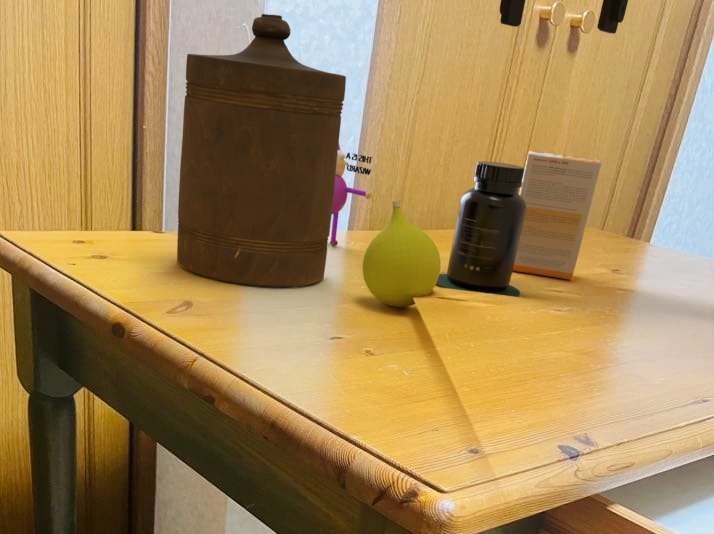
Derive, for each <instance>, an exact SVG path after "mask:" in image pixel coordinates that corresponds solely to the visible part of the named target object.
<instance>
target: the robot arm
mask: <svg viewBox="0 0 714 534" xmlns="http://www.w3.org/2000/svg"><path fill="white" fill-rule="evenodd" d="M628 3H629V0H602V4H601V8H600V13H599V18H598V21H597V29H598V30H599V31H600V32H602V33H607V34H614V35H615V34H616V33H617V31H618V26H619V23H620V24H621V23H623V21H624V19H625V15H626V11H627V7H628ZM499 4H500V5H499V14H500V22H499V23H500V24H501V25H505V26H509V27H513V28H515V27H516V28H518V27H519V26H521V23H522V19H523V14H524V9H525V4H526V0H500V3H499Z"/></svg>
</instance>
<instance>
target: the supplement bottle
mask: <svg viewBox="0 0 714 534" xmlns="http://www.w3.org/2000/svg"><path fill="white" fill-rule="evenodd" d="M524 169H525V167H523V166H520V165H518V164H517V165H516V164H511V163H506V162H498V161H487V160H485V161H484V160H481V161H477V163H476V166H475V172H474V175H473V179H472V181H473V182H474V186H473V187H472V188H469V189H468V190H466V191H465V192H464V193H463V194H462V196H461V197H460V199H459V205H458V209H457V213H456V219H455V225H454V231H453V236H452V238H453V239H452V242H451V247H450V253H449V259H448V263H447V270H446V274H447V279H448V281H449V282H450V283H452V284H454V285H456V286H459V287H462V288H466V289H471V290H477V291H485V292H499V291H503V290H505V289H507V287H508V286H509V285H511V279H512V275H513V272H514V271H513V267H514V262H515V257H516V253H517V248H518V244H519V239H520V235H521V230H522V226H523V221H524V217H525V211H526V204H525V201H524V199H523V198H522V197H521V196H520V195H519V189H520V188H521V187H522V183H523V182H522V179H523V174H524Z"/></svg>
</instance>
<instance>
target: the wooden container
mask: <svg viewBox="0 0 714 534" xmlns="http://www.w3.org/2000/svg"><path fill="white" fill-rule="evenodd" d="M251 31H252V35H253V36H254V38H253V40H252V41H251V42H250V43H249V44H248V45H247V46H246V47H245V48H244V49H243V50H242V51H240V52H237V53H234V54H218V55H217V54H196V53H187V55H186V65H185V80H186V82H185V89H186V90H185V93H186V95H184V103H183V104H184V105H183V121H182V137H181V138H182V139H181V152H180V153H181V154H180V166H179V182H178V183H179V186H178V204H177V205H178V206H177V222H178V223H177V226H178V227H177V240H176V243H177V245H176V261H177V263H178V264H179V265H180V266H181V267H182V268H184V269H185V268H186V270H187V271H189V272H191V273H194V274H197V275H200V276H203V277H205V278H210V279H215V280H219V281H223V282H229V283H235V284H240V285H241V284H242V285H250V286H258V287H273V288H274V287H278V288H281V287H284V288H285V287H303V286H310V285H312V284H316V283H318V282H320V281H322V280H323V279H324V277H325V271H326V263H327V256H328V242H329V237H330V235H331V225H332V223H331V222H332V217H333V214H332V206H333V196H334V185H335V174H336V163H337V153H338V144H339V145H340V133H341V125H342V124H341V123H342V114H343V112H342V111H343V109H344V108H343V106H344V103H343V102H344V101H345V96H346V83H347V77H346V75H344V74H338V73H333V72H328V71H324V70H320V69H317V68H313V67H311V66H308V65H306V64H303V63H301V62H300V61H298V60H297V59H296V58H295V57H294V55H292V53H291V52H290V50H289V48H288V46H287V45H286V42H285V40H288V39H289V38H290V35H291V27H290V24H289V23H288V22H287V21H286V20H285V19H284V20H283V16H282V15H278V14H267V13H261V15H260V16H257V17H255V18H254V19H253V21H252V26H251Z"/></svg>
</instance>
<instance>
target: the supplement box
mask: <svg viewBox="0 0 714 534" xmlns="http://www.w3.org/2000/svg"><path fill="white" fill-rule="evenodd" d="M601 167H602V162H601V161H600V160H599V159H594V158H588V157H582V156H575V155H568V154H567V155H565V154H558V153H551V152H543V151H536V150H535V151H534V150H528V153H527V157H526V161H525V166H524V174H523V179H522V182H523V183H522V187H520V188H519V191H518V194H519V195H520V196H521V197H522V198H523V199H524V201H525V204H526V211H525V217H524V221H523V226H522V230H521V235H520V239H519V244H518V248H517V253H516V257H515V262H514V267H513V271H512V272H519V273H527V274H533V275H540V276H545V277H552V278H559V279H564V280H569V281H570V280H572V279H573V276H574V273H575V268H576V264H577V261H578V257H579V253H580V250H581V246H582V243H583V242H582V241H583V238H584V233H585V229H586V225H587V223H588V218H589V214H590V209H591V206H592V202H593V198H594V194H595V191H596V186H597V182H598V178H599V174H600V170H601Z"/></svg>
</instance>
